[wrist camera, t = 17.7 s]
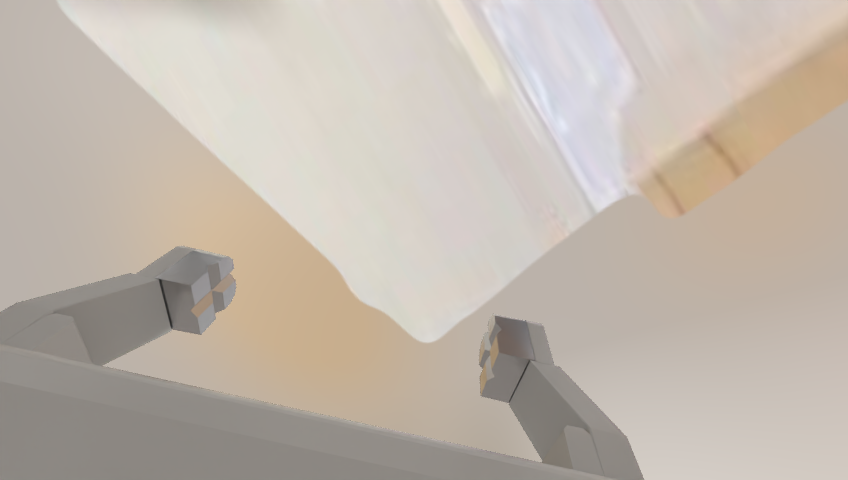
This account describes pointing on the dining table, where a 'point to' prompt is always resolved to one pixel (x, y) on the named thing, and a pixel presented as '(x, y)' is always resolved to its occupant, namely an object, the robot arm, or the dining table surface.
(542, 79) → the dining table surface
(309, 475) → the robot arm
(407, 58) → the dining table surface
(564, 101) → the dining table surface
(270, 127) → the dining table surface
